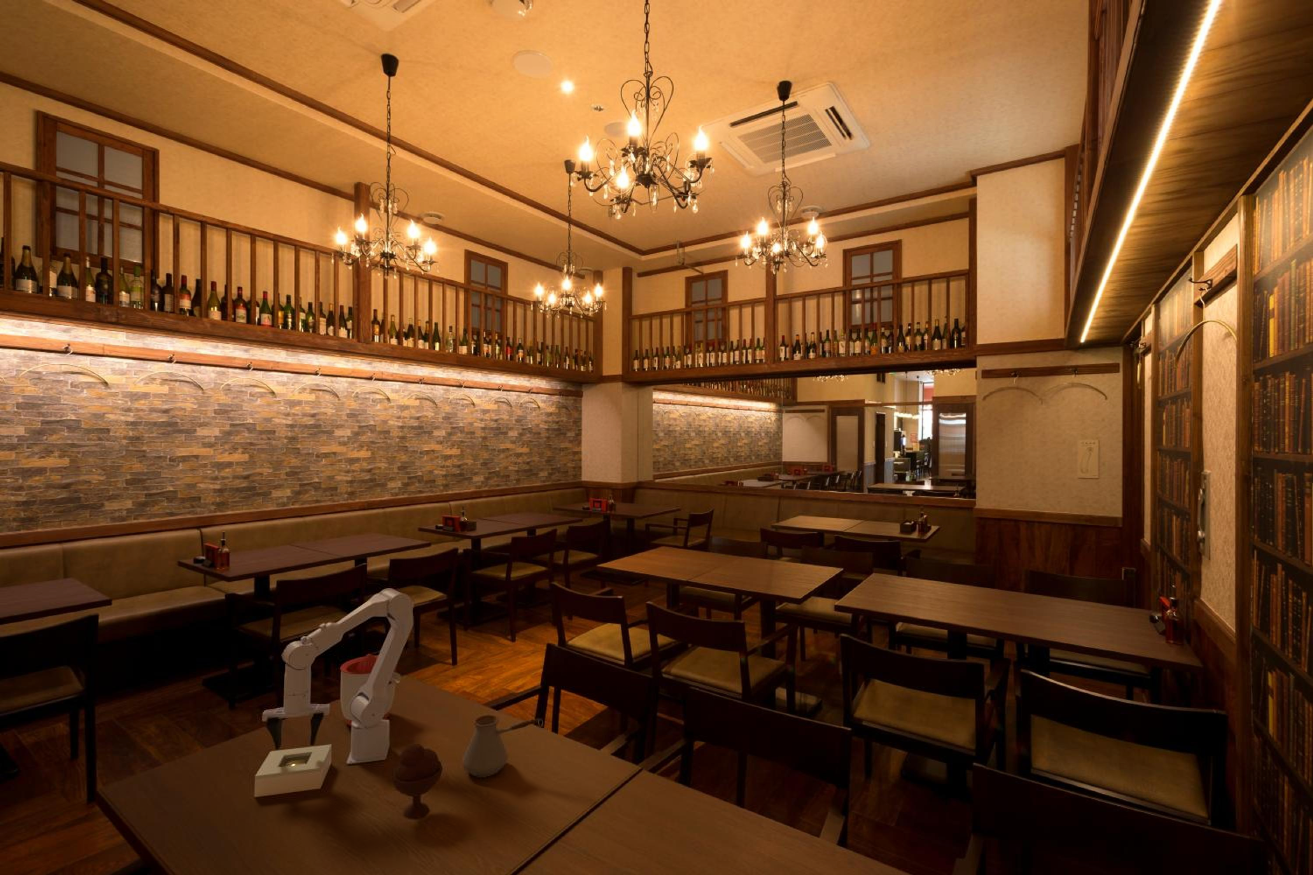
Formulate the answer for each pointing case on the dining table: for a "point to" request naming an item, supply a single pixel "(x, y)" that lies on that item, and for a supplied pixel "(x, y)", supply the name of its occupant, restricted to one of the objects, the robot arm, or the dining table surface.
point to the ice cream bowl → (416, 776)
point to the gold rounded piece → (296, 762)
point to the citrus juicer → (362, 683)
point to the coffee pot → (488, 746)
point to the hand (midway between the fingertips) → (295, 745)
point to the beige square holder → (293, 770)
